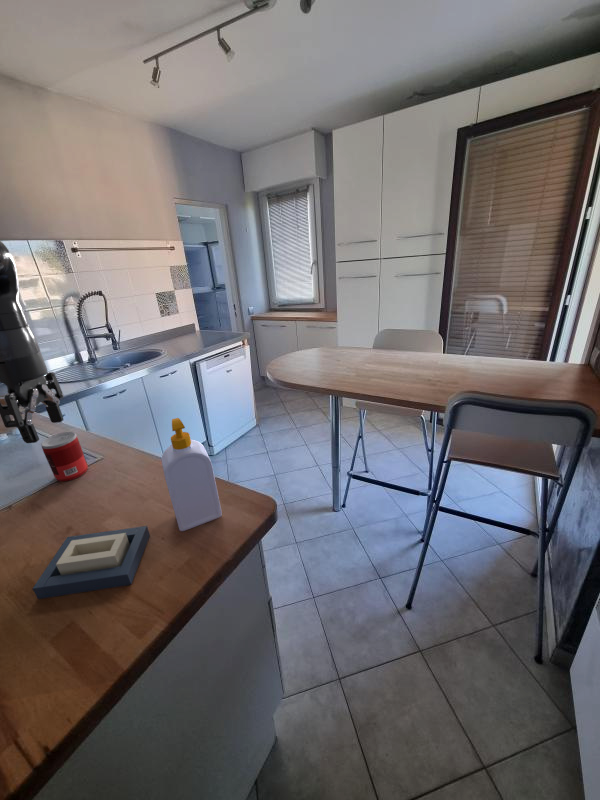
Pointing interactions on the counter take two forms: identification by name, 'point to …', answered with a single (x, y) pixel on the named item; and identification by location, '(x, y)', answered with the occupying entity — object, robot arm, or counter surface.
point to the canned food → (65, 456)
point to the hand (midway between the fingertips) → (46, 431)
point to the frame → (94, 554)
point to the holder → (97, 579)
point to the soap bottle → (190, 480)
